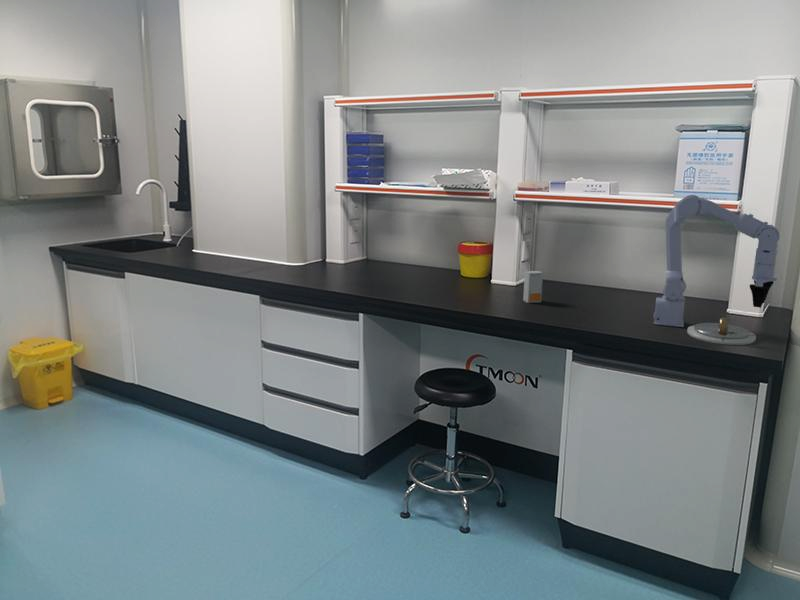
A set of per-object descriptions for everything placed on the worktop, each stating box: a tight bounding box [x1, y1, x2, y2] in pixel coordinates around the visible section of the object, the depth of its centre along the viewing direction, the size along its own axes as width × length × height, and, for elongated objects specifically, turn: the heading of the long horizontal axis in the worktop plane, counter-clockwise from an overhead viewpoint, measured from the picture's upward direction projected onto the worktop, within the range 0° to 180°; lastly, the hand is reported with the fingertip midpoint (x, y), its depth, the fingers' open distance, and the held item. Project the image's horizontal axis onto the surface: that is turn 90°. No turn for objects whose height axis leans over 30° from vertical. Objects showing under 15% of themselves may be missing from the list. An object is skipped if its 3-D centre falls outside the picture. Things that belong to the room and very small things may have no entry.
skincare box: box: [522, 270, 544, 304], centre depth 254 cm, size 6×4×12 cm
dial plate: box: [686, 324, 757, 346], centre depth 209 cm, size 20×20×1 cm
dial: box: [694, 317, 749, 339], centre depth 208 cm, size 16×16×6 cm
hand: (758, 304), depth 209 cm, fingers open, 7 cm apart
